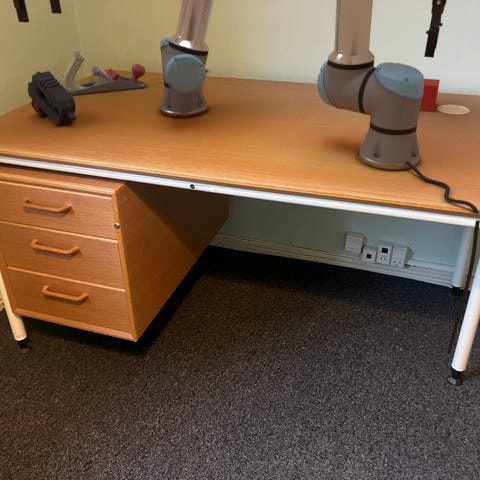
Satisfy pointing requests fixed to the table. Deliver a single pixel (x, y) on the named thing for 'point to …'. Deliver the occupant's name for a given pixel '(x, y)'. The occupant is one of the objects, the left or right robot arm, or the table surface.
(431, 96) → the block
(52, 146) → the table surface
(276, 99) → the table surface
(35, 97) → the tool
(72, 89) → the hand plane
